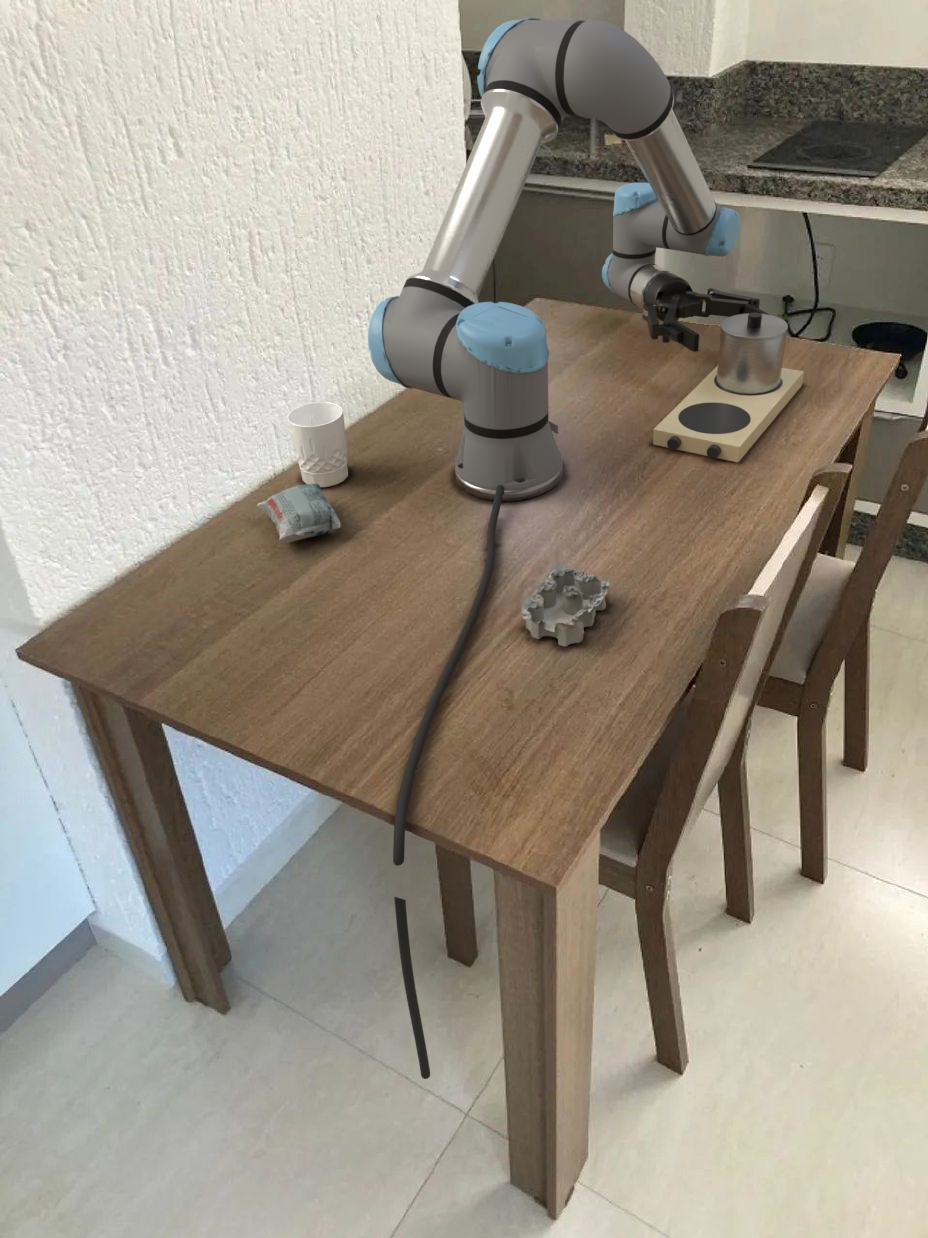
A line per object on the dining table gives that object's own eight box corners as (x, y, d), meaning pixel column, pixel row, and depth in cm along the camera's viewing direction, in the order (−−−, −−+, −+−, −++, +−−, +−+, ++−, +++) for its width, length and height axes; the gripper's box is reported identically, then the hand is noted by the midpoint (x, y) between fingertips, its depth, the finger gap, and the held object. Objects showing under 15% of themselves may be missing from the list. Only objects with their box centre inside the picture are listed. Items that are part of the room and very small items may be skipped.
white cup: (363, 470, 149) (354, 407, 143) (330, 494, 144) (319, 430, 138) (321, 459, 153) (311, 397, 147) (287, 482, 147) (275, 419, 141)
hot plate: (735, 465, 142) (737, 449, 141) (649, 447, 148) (650, 431, 147) (801, 385, 161) (803, 370, 160) (723, 372, 167) (724, 357, 166)
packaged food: (281, 557, 131) (275, 525, 128) (259, 516, 140) (252, 485, 137) (345, 540, 134) (340, 508, 131) (319, 501, 143) (314, 469, 140)
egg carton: (574, 653, 112) (574, 623, 110) (515, 634, 115) (513, 605, 113) (616, 601, 119) (616, 572, 117) (559, 584, 122) (558, 556, 120)
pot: (768, 399, 153) (776, 330, 146) (706, 387, 157) (711, 321, 151) (789, 374, 159) (798, 308, 153) (729, 364, 164) (735, 299, 157)
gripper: (721, 301, 180) (797, 340, 164) (597, 330, 173) (663, 374, 157) (725, 258, 175) (803, 294, 159) (597, 286, 169) (666, 327, 153)
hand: (734, 334), depth 158 cm, fingers open, 13 cm apart
